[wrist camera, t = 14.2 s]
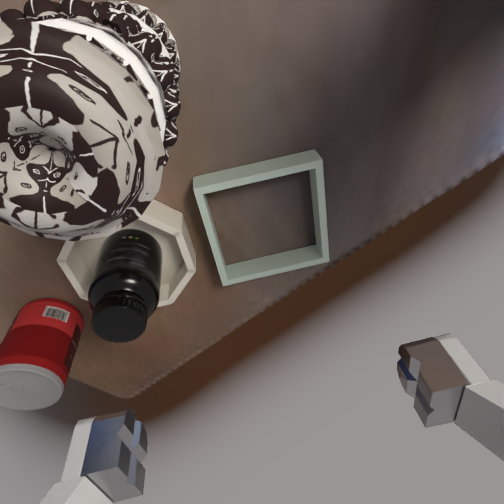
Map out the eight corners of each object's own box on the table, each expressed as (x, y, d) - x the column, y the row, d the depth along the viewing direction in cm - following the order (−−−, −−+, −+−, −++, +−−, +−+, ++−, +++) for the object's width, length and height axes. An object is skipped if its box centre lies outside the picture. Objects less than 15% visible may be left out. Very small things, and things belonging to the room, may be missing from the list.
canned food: (7, 302, 46) (-37, 377, 37) (70, 290, 46) (42, 362, 37) (36, 342, 50) (3, 417, 42) (93, 331, 51) (73, 403, 42)
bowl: (171, 181, 40) (169, 198, 36) (203, 275, 48) (204, 296, 44) (48, 210, 40) (36, 229, 36) (101, 299, 48) (95, 321, 44)
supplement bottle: (162, 274, 45) (156, 351, 36) (104, 272, 44) (81, 352, 34) (163, 227, 42) (157, 299, 32) (100, 223, 40) (73, 297, 31)
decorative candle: (52, 52, 31) (-194, 161, 11) (123, -35, 29) (-33, -97, 9) (137, 131, 36) (71, 308, 16) (204, 63, 33) (228, 170, 13)
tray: (314, 149, 40) (322, 159, 37) (322, 247, 48) (329, 261, 45) (192, 177, 40) (193, 189, 37) (221, 271, 48) (223, 286, 45)
